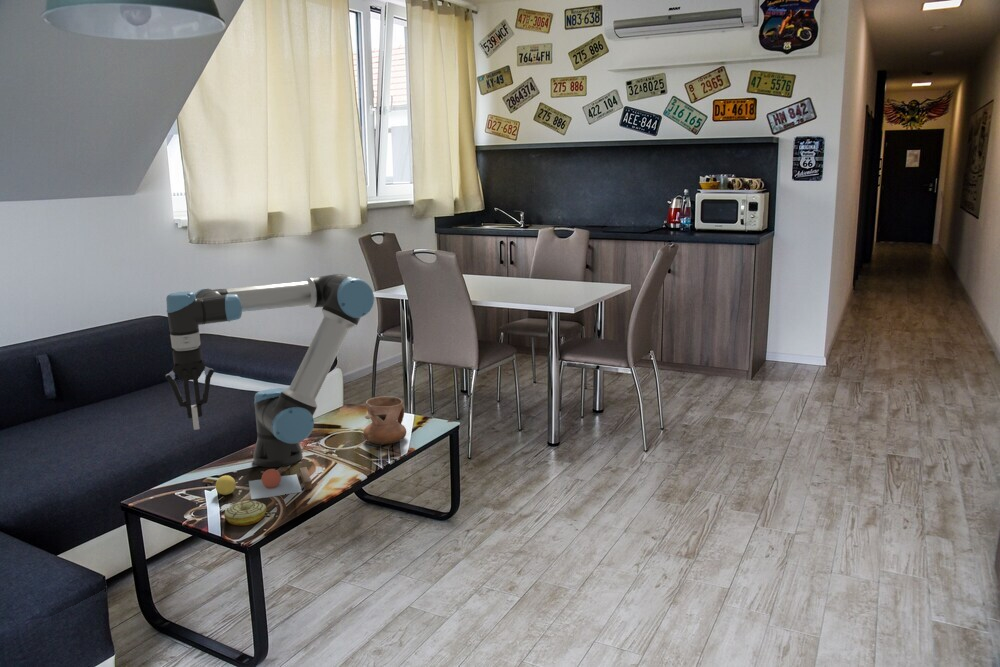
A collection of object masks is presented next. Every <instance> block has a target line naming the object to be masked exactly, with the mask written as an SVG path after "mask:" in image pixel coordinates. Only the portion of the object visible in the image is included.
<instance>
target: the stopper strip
mask: <svg viewBox="0 0 1000 667" xmlns="http://www.w3.org/2000/svg"><path fill="white" fill-rule="evenodd" d="M299 474H300V475H299V476H300V479H301V482H302V485H303V488H304V490H305V491H309V490H313V484H312V479H311V476H310V473H309V470H308V467H307V466H304V467H299Z"/></svg>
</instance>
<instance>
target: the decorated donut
mask: <svg viewBox="0 0 1000 667" xmlns="http://www.w3.org/2000/svg"><path fill="white" fill-rule="evenodd" d="M266 512H267V506H266V504H264V503H263V502H261V501H257V500H244V501H243V500H242V501H237V502H235V503H233V504H232V505H231V504H230V506H229V507H227V508H226V509H225V511H224V517H225V519H226V521H227V523H229V524H231V525H233V526H239V527H242V526H243V527H244V526H249V525H252V524H253V525H254V524H256V523H258V522H260V521H261V520H262V519H263V518H264V517H265V515H266Z"/></svg>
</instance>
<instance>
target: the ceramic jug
mask: <svg viewBox="0 0 1000 667" xmlns="http://www.w3.org/2000/svg"><path fill="white" fill-rule="evenodd" d="M365 407H366V410H367V414H366V415H365V416H364V418H365V419H366V420H371V423H369V424H368V425H366V426H365V428H364V429H363V437H364V439H365V440H366V441H367V442H369V443H372V444H375V445H391V444H395V443H397V442H400V441H402V440H403V439H404V438H405V437H406V436H407V429H406V427H405V425H403V424H402V423H403V420H404V415H405V407H404V405H403V399H402V398H401V397H400V398H399V397H398V396H389V395H388V396H387V395H386V396H376V397H371V398H369V399H367V400H366V402H365Z"/></svg>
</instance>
